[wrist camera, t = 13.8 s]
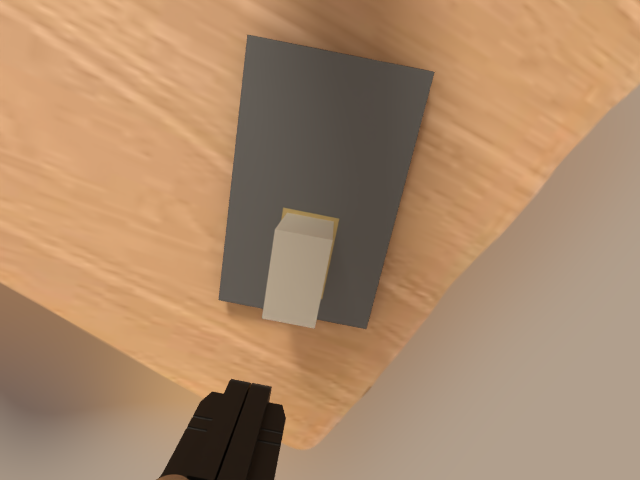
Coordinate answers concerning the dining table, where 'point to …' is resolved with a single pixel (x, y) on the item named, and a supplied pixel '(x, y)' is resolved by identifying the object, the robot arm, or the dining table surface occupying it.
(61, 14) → the dining table surface
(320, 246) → the block
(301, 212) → the board
